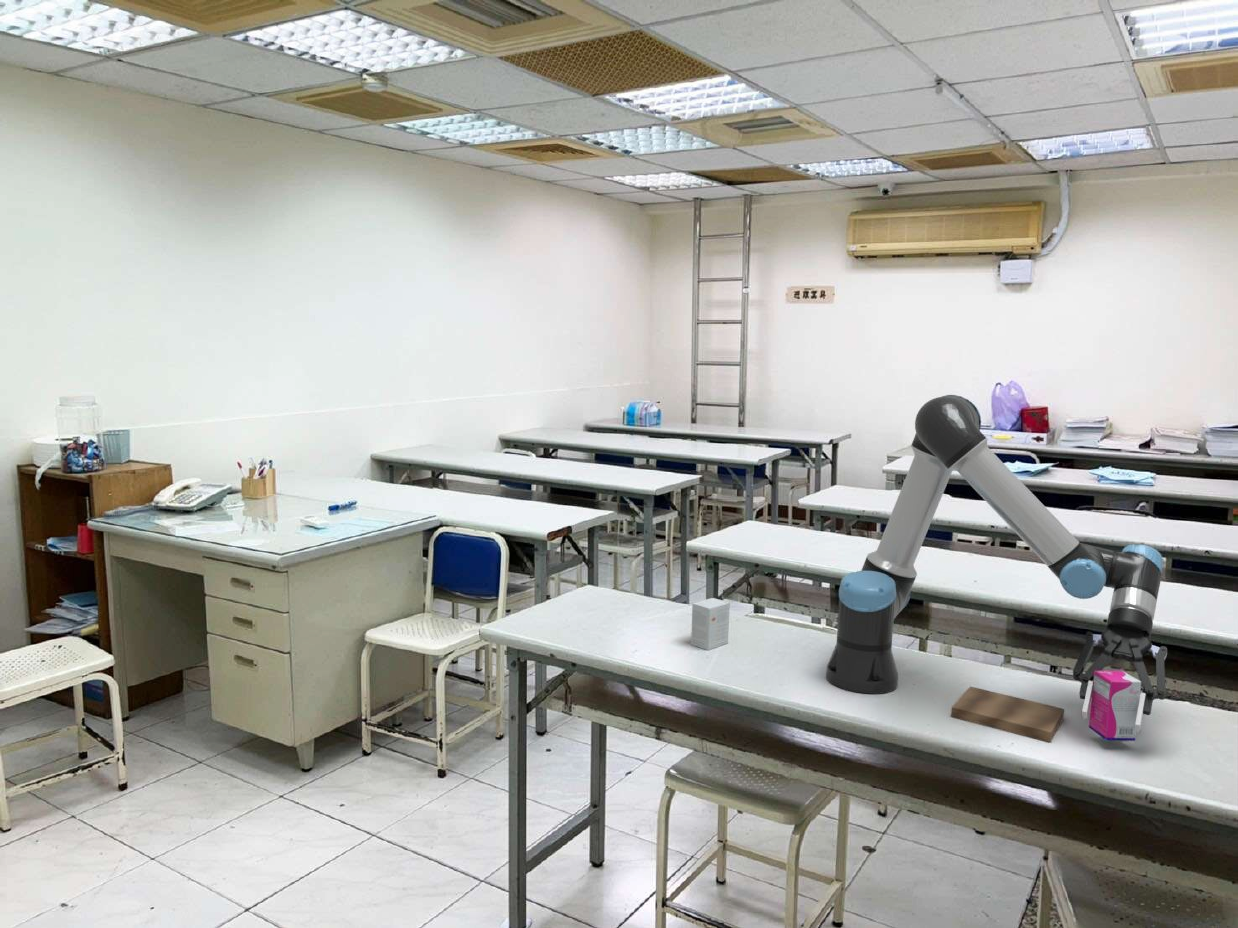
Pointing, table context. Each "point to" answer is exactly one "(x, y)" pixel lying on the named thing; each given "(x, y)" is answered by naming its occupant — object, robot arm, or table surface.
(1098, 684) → the supplement box
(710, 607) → the small box
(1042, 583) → the table surface
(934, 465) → the robot arm
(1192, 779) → the table surface
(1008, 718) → the brown flat block
